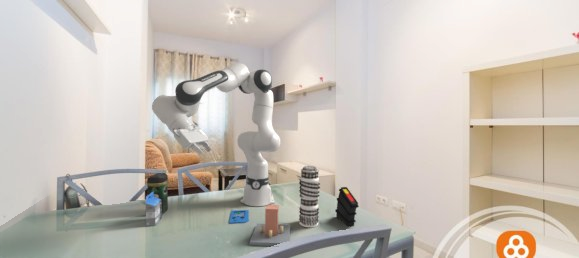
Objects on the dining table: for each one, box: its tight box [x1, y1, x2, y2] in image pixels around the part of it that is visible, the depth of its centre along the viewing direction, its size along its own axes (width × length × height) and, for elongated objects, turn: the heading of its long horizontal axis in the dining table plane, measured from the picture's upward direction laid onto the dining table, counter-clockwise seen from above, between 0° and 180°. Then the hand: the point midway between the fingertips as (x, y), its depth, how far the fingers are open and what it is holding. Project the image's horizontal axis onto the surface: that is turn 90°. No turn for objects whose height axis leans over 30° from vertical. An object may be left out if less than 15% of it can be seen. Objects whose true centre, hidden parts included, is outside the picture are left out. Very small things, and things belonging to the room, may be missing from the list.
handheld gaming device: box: [228, 209, 250, 225], centre depth 113 cm, size 8×1×15 cm
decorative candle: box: [298, 165, 321, 228], centre depth 106 cm, size 9×9×25 cm
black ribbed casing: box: [335, 186, 360, 227], centre depth 109 cm, size 4×13×15 cm, turn 18°
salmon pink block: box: [264, 204, 279, 236], centre depth 94 cm, size 5×5×10 cm
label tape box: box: [145, 191, 163, 227], centre depth 105 cm, size 9×4×12 cm, turn 12°
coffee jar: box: [146, 172, 169, 215], centre depth 116 cm, size 10×8×19 cm
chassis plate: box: [249, 223, 291, 247], centre depth 94 cm, size 16×14×4 cm
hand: (206, 152), depth 101 cm, fingers open, 8 cm apart
